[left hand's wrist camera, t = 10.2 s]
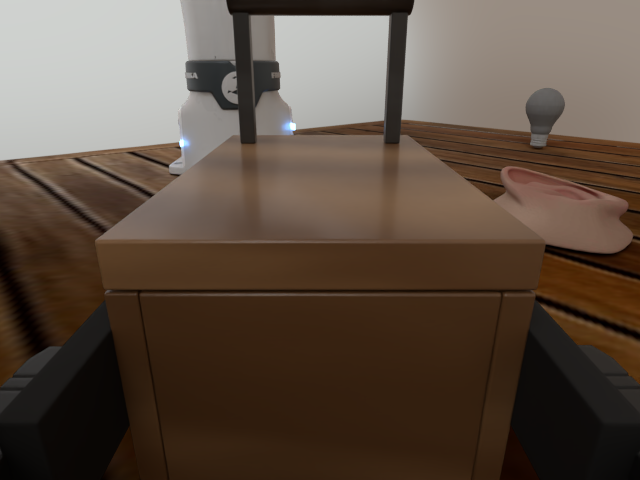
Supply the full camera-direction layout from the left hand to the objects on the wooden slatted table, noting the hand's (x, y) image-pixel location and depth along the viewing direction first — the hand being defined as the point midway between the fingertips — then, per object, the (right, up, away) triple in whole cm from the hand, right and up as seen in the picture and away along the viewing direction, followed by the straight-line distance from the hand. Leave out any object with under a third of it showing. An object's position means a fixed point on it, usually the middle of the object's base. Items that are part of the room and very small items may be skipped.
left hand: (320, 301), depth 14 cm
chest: (0, -5, +6) cm, 8 cm away
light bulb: (+39, +18, +66) cm, 78 cm away
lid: (0, +4, +3) cm, 5 cm away
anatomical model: (+21, +3, +27) cm, 34 cm away
